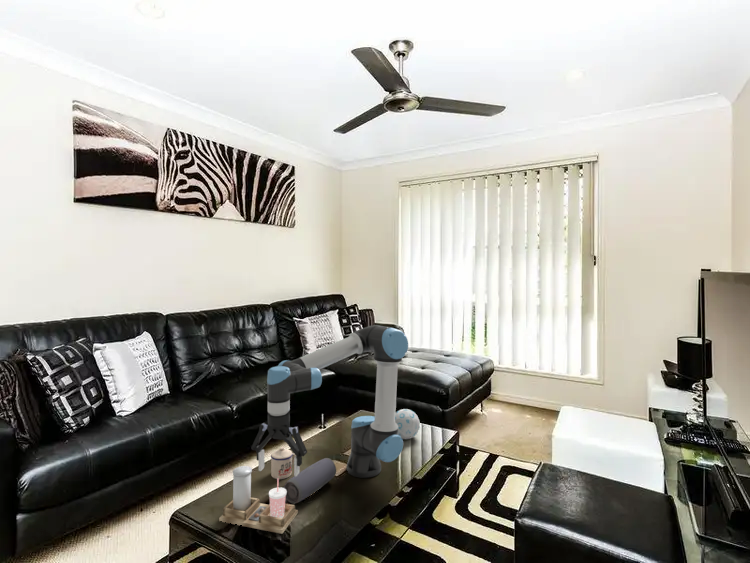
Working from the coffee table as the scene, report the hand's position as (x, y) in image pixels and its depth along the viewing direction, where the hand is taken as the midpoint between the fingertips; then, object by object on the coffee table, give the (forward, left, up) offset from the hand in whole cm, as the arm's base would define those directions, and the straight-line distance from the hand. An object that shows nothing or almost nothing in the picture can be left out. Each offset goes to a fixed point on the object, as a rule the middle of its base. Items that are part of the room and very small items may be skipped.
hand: (279, 471), depth 143 cm
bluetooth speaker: (-4, -20, -18) cm, 27 cm away
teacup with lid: (+13, -31, -17) cm, 38 cm away
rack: (+7, 0, -17) cm, 19 cm away
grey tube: (+14, 0, -16) cm, 21 cm away
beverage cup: (0, 0, -16) cm, 16 cm away
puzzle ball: (-30, -83, -17) cm, 90 cm away
